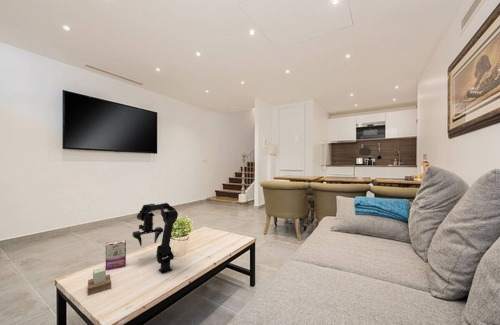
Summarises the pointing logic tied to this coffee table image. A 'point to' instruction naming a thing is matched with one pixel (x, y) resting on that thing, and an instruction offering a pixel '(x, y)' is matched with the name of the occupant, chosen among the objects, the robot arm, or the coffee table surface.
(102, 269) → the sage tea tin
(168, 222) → the robot arm
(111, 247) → the candy bar box
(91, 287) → the walnut block
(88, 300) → the coffee table surface
